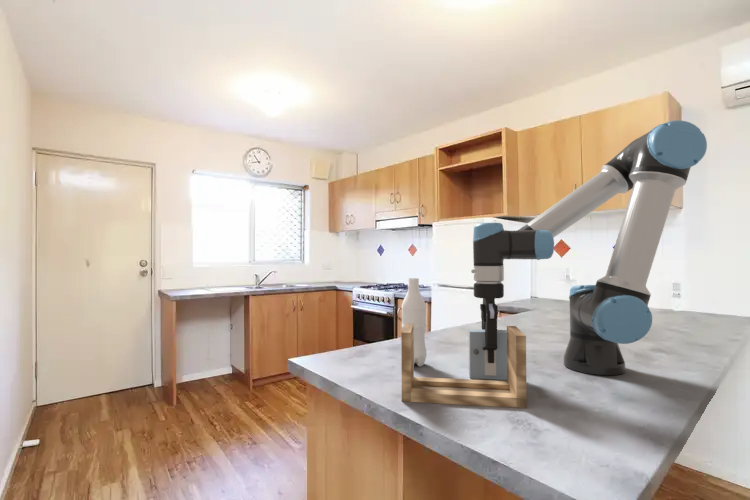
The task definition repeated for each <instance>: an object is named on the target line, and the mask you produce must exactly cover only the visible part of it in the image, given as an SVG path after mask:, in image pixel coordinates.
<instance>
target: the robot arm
mask: <svg viewBox="0 0 750 500" xmlns="http://www.w3.org/2000/svg"><path fill="white" fill-rule="evenodd" d="M707 148H708V142H707V137H706V136H705V134H704V133H703V132H702V131H701V128H699V127H698V126H697V125H695V124H694V123H692V122H690V121H686V120H679V119H677V120H670V121H666V122H663V123H661V124H658V125H656V126H655V127H653V128H652V129H650V131H648V132H646V133H644V134H643V135H641V136H639V137H638V138H636V139H634V140H632V141H631V142H630V143H629V144H627V146H625V147H624V148H623V149H622V150H621V151H619V152H618V153H617V154H616V155H615V156H614V157H613V158H611V159H610V160H609V161H608V162H606V163H605V164H604V165H602V166H601V167H600V172H598V173H597V174H595V176H593V177H591V178H590V179H589V180H587V181H586V182H585V183H583V184H581V185H580V186H578V187H577V188H576V189H575V190H573V191H572V192H570V193H569V194H567V195H566V196H564V197H563V198H562V199H560V200H559V201H557V202H556V203H555V204H553V205H551V207H549V208H547V209H546V210H545V211H543V212H541V213H540V214H539V215H538V216H536V217H534V218H533V219H531V221H529V222H527V223H526V224H525V225H524V226H522V227H520V228H519V229H518V230H507V229H506V230H505V228H504V225H503V223H501V222H482V223H477V224H475V226H473V238H472V244H473V245H472V248H473V249H472V250H473V252H472V253H473V269H471V274H473V280H474V281H475V282H474V284H473V297H474V298H477V299H482V303H480V306H479V308H480V318H481V329H482V330H485V347H483V350H485V375H492V376H496V349H497V330H498V314H499V312H498V310H499V309H498V308H499V307H498V304H497V305H496V301H495V299H502V298H503V297H504V296H505V295H504V293H505V292H504V290H505V289H504V288H505V287H504V283H502V282H504V280H505V279H504V278H505V276H504V275H505V273H504V271H505V270H504V269H505V267H504V260H537V261H540V260H549V259H551V258H552V256H553V254H554V252H555V251H554V250H555V239H554V238H555V237H557V236H558V235H560V234H561V233H563V232H564V231H566V230H567V229H569V228H570V227H571V226H573V225H575V224H576V223H577V222H579V221H580V220H581V219H583V218H584V217H586V216H588V215H589V214H590V213H593V211H595V210H596V209H598V208H599V207H600V206H602V205H604V204H605V203H607V202H608V201H610V200H611V199H612V198H614V197H615V196H617V195H618V194H626V193H627V192H629V191H631V192H630V195H629V199H628V202H627V206H626V208H625V212H624V215H623V218H622V222H621V225H620V228H619V232H618V234H617V238H616V241H615V243H614V249H613V250H612V255H611V258H610V261H609V265H608V266H607V267H608V268H607V270H606V274H605V275H604V276H603V277H601V278H599V279H596V283H595V284H585V285H582V284H581V285H579V284H578V285H574V286H573V285H572V286H571V287H570V290H569V296H568V299H569V341H568V342H567V346H566V349H565V352H564V354H563V366H564V367H566V368H567V369H570V370H573V371H577V372H579V373H584V374H590V375H597V376H618V375H623V374H624V373H626V362H625V359H624V357H623V353H622V351H621V349H620V346H619V344H620V345H621V344H622V345H626V344H628V345H629V344H633V343H636V342H637V341H640V340H641V339H643V338H644V337H645V336H646V335H647V334H648V333H649V331H650V330H651V328H652V325H653V313H652V311H651V310H650V308H649V306H648V305H649V302H650V298H651V297H652V296H651V295H652V293H651V292H650V291H649V289H648V288H647V282H648V279H649V276H650V273H651V269H652V266H653V263H654V261H655V257H656V254H657V250H658V247H659V244H660V240H661V237H662V234H663V232H664V228H665V224H666V220H667V218H668V215H669V212H670V209H671V205H672V202H673V198H674V196H675V192H676V191H677V190H678V189H680V188H682V187H683V186H685V185H686V183H687V180H688V177H689V174H690V170H691V168H692V167H694V166H696V165H697V164H698V163H699V162H700V161H701V160H702V159H703V158H704V156H705V155H706V152H707Z"/></svg>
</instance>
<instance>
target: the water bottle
mask: <svg viewBox="0 0 750 500" xmlns="http://www.w3.org/2000/svg"><path fill="white" fill-rule="evenodd" d="M419 280H420V279H419V278H418V277H417V278H416V277H411V278H408V284H407V292H406V295H405V296H404V298H403V301H402V303H401V307H400V308H401V331H402V330H403V328H404V326H405V324H414V365H415V364H416V366H417V367H419V368H420V367H423V365H424V364H425V361H426V359H427V348H426V341H425V340H426V339H425V338H426V337H425V335H426V330H427V329H426V328H427V319H426V316H427V312H426V311H427V304H426V301H425V300H424V298H423V296H422V294H421V292H420V287H421V286H420V281H419Z"/></svg>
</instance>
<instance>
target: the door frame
mask: <svg viewBox="0 0 750 500" xmlns="http://www.w3.org/2000/svg"><path fill="white" fill-rule="evenodd" d="M506 330H507V380H495V379H472V378H469V379H468V378H467V379H466V378H465V379H464V378H444V377H442V378H441V377H425V376H424V377H423V376H422V377H421V376H415V368H414V365H415V364H414V324H405V326H404V328H403V330H402V329H401V335H400V336H401V402H406V403H407V402H408V403H422V404H423V403H424V404H425V403H427V404H441V405H442V404H445V405H461V406H462V405H465V406H481V407H500V408H501V407H502V408H503V407H504V408H515V409H516V408H519V409H520V408H521V409H527V407H528V406H527V403H528V402H527V401H528V400H527V399H528V398H527V393H528V392H527V390H528V389H527V335H526V334H525V333H524V332H522V330H520V328H518V327H517V325H506Z"/></svg>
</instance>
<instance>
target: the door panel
mask: <svg viewBox="0 0 750 500" xmlns="http://www.w3.org/2000/svg"><path fill="white" fill-rule="evenodd" d="M483 347H485V330H482V328H479V329H476V328H474V329H473V328H469V329H468V374H469V379H471V380H495V381H507V329H497V349H496V376H492V375H485V350H483Z"/></svg>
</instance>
